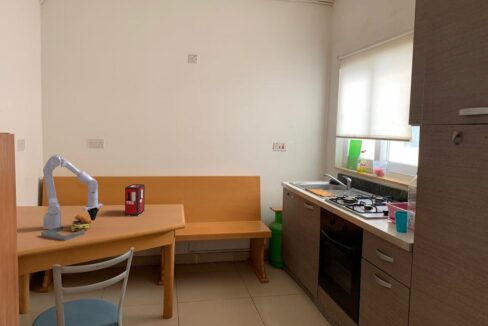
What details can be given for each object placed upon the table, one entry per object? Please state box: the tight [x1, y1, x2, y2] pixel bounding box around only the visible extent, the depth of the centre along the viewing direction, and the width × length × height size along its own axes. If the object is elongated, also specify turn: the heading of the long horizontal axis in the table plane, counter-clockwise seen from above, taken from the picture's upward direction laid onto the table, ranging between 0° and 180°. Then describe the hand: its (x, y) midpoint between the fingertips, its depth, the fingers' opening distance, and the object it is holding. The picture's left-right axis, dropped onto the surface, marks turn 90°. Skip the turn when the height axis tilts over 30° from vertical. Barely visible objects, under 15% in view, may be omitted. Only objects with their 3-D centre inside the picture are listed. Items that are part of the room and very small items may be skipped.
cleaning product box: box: [124, 183, 146, 217], centre depth 269 cm, size 16×9×20 cm, turn 179°
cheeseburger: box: [70, 214, 92, 233], centre depth 224 cm, size 10×11×10 cm
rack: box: [40, 225, 86, 241], centre depth 212 cm, size 17×14×3 cm
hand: (93, 220), depth 234 cm, fingers closed
